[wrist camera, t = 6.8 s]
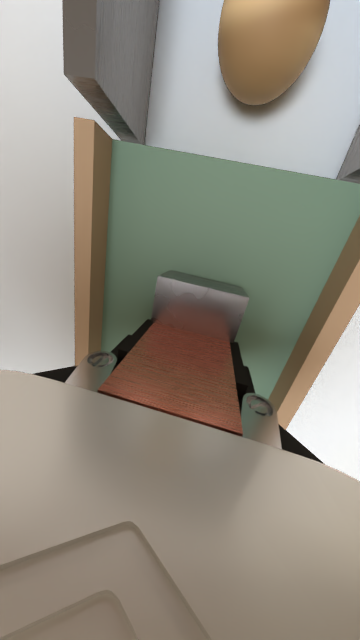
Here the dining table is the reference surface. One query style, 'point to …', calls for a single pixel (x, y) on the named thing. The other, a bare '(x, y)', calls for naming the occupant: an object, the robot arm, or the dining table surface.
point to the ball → (267, 45)
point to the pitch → (215, 252)
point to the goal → (127, 65)
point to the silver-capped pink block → (186, 353)
